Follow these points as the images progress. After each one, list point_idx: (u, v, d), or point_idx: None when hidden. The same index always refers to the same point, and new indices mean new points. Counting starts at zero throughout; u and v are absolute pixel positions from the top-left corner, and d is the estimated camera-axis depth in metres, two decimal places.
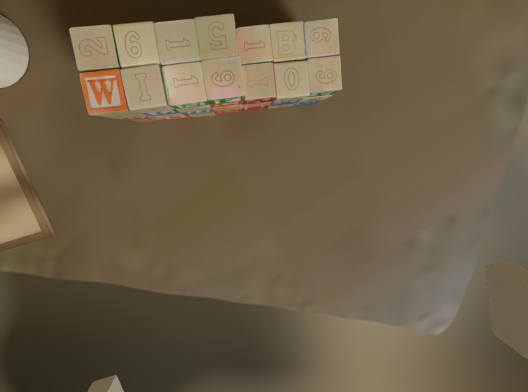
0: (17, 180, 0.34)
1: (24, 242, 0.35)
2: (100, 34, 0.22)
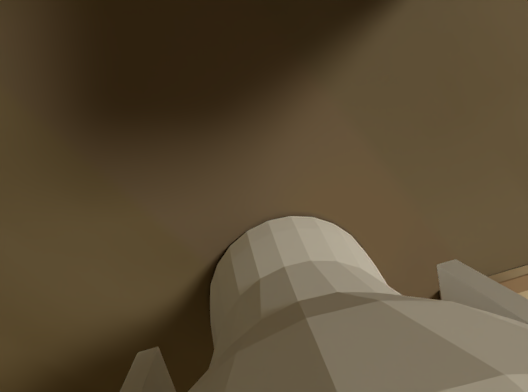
0: None
1: None
2: None
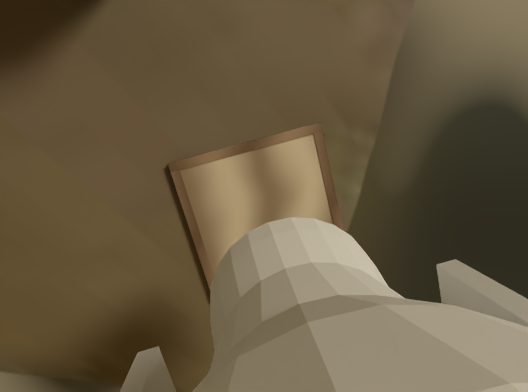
0: (243, 153, 0.26)
1: (325, 157, 0.27)
2: None
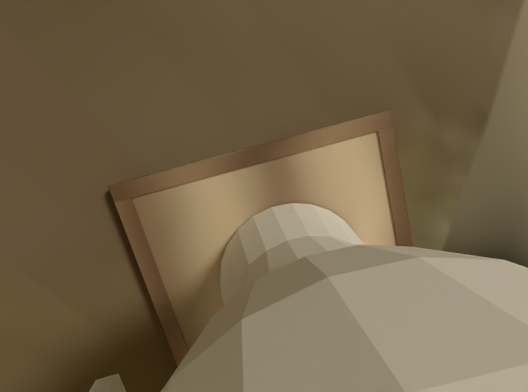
0: (250, 167, 0.14)
1: (397, 174, 0.15)
2: None
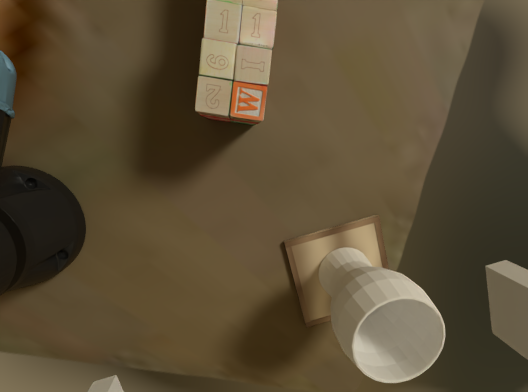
0: (330, 235, 0.42)
1: (381, 236, 0.42)
2: (204, 86, 0.26)
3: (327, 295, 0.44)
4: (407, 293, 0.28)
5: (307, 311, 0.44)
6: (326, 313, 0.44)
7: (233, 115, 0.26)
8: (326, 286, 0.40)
